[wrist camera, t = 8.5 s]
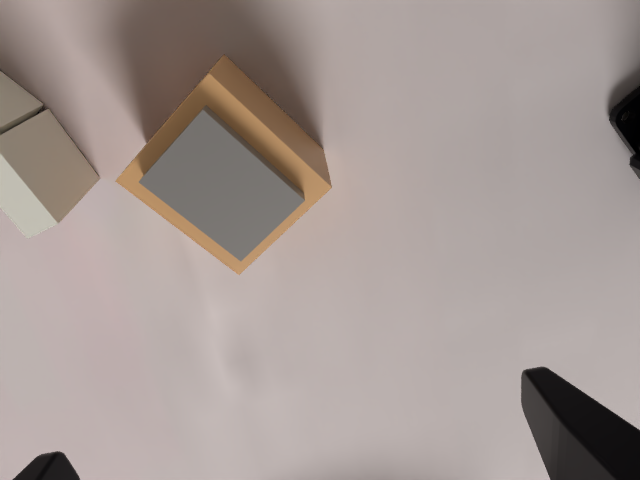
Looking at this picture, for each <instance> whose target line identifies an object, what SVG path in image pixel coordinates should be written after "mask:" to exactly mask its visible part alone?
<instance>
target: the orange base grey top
mask: <svg viewBox="0 0 640 480" xmlns="http://www.w3.org/2000/svg"><path fill="white" fill-rule="evenodd" d="M116 182H117V183H119V184H120V185H121V186H122V187H124V188H125V189H126V190H128V191H129V192H130V193H132V194H133V195H134V196H136V197H137V198H138V199H140V200H141V201H142V202H144V203H145V204H146V205H147V206H149V207H150V208H151V209H153V210H154V211H155V212H157V213H158V214H159V215H161V216H162V217H163V218H165V219H166V220H167V221H168V222H170V223H171V224H172V225H174V226H175V227H176V228H178V229H179V230H180V231H182V232H183V233H184V234H186V235H187V236H188V237H190V238H191V239H192V240H193V241H195V242H196V243H197V244H199V245H200V246H201V247H203V248H204V249H205V250H207V251H208V252H209V253H211V254H212V255H213V256H215V257H216V258H217V259H218V260H220V261H221V262H222V263H224V264H225V265H226V266H228V267H229V268H230V269H232V270H233V271H234V272H236V273H237V274H238V275H240V274H241V273H242V272H243V271H244V270H245V269H246V268H247V267H248V266H249V265H250V264H251V263H252V262H253V261H254V260H255V259H257V258H258V257H259V256H260V255H261V254H262V253H263V252H264V251H265V250H266V249H267V248H268V247H269V246H270V245H271V244H272V243H273V242H275V241H276V240H277V239H278V238H279V237H280V236H281V235H282V234H283V233H284V232H285V231H286V230H287V229H288V228H289V227H290V226H292V225H293V224H294V223H295V222H296V221H297V220H298V219H299V218H300V217H301V216H302V215H303V214H304V213H305V212H306V211H307V210H308V209H310V208H311V207H312V206H313V205H314V204H315V203H316V202H317V201H318V200H319V199H320V198H321V197H322V196H323V195H324V194H325V193H327V192H328V191H329V190H330V189H331V188H332V186H331V181H330V176H329V172H328V167H327V163H326V158H325V154H324V150H323V149H322V148H321V147H320V146H319V145H318V144H317V143H316V142H315V141H314V140H313V139H312V138H311V137H310V136H309V135H308V134H307V133H306V132H304V131H303V130H302V129H301V128H300V127H299V126H298V125H297V124H296V123H295V122H294V121H293V120H292V119H291V118H290V117H289V116H288V115H287V114H286V113H285V112H284V111H283V110H282V109H281V108H280V107H278V106H277V105H276V104H275V103H274V102H273V101H272V100H271V99H270V98H269V97H268V96H267V95H266V94H265V93H264V92H263V91H262V90H261V89H260V88H259V87H258V86H257V85H256V84H255V83H254V82H253V81H251V80H250V79H249V78H248V77H247V76H246V75H245V74H244V73H243V72H242V71H241V70H240V69H239V68H238V67H237V66H236V65H235V64H234V63H233V62H232V61H231V60H230V59H229V58H228V57H227V56H225V55H223V56H222V57H221V58H220V59H219V61H218V62H217V63H216V64H215V65H214V66H213V68H212V69H211V70H210V71H209V72H208V73H207V74H206V76H205V77H204V78H203V79H202V80H201V81H200V83H199V84H198V85H197V86H196V87H195V88H194V89H193V91H192V92H191V93H190V94H189V95H188V96H187V98H186V99H185V100H184V101H183V102H182V103H181V104H180V106H179V107H178V108H177V109H176V110H175V111H174V113H173V114H172V115H171V116H170V117H169V118H168V119H167V121H166V122H165V123H164V124H163V125H162V126H161V128H160V129H159V130H158V131H157V132H156V133H155V134H154V136H153V137H152V138H151V139H150V140H149V141H148V143H147V144H146V145H145V146H144V147H143V148H142V150H141V151H140V152H139V153H138V154H137V156H136V157H135V158H134V159H133V160H132V162H131V163H130V164H129V165H128V166H127V168H126V169H125V170H124V171H123V172H122V174H121V175H120V176H119V177H118V178H117V180H116Z"/></svg>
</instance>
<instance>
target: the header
mask: <svg viewBox="0 0 640 480" xmlns="http://www.w3.org/2000/svg"><path fill="white" fill-rule="evenodd" d="M43 105H44V104H43V103H42V102H40V101H39V100H38V99H36V98H35V97H34V96H32V95H31V94H30V93H29V92H27V91H26V90H25V89H23V88H22V87H21V86H20V85H18V84H17V83H16V82H14V81H13V80H12V79H10V78H9V77H8V76H7V75H5V74H4V73H3V72H1V71H0V208H1V209H2V210H3V212H4V213H5V214H6V215H7V216H8V217H9V218H10V220H11V221H12V222H13V223H14V224H15V225H16V226H17V228H18V229H19V230H20V231H21V232H22V233H23V234H24V236H25V237H26V238H27V239H29V238H31V237H33V236H35V235H37V234H39V233H41V232H43V231H45V230H47V229H49V228H51V227H53V226H55V225H57V224H59V223H60V221H61V220H62V219H63V218H64V217H65V216H66V215H67V214H68V213H69V212H70V211H71V210H72V208H73V207H74V206H75V205H76V204H77V203H78V202H79V201H80V200H81V199H82V198H83V197H84V196H85V194H86V193H87V192H88V191H89V190H90V189H91V188H92V187H93V186H94V185H95V184H96V183H97V181H98V180H99V179H100V178H99V176H98V175H97V174H96V172H95V171H94V170H93V168H92V167H91V165H90V164H89V163H88V161H87V160H86V159H85V157H84V156H83V155H82V153H81V152H80V151H79V149H78V148H77V147H76V145H75V144H74V142H73V141H72V140H71V138H70V137H69V136H68V134H67V133H66V132H65V130H64V129H63V128H62V126H61V125H60V124H59V122H58V121H57V119H56V118H55V117H54V115H53V114H52V113H51V111H50V110H49V109H47V110H45V111H43V112H41V113H39V114H37V113H38V112H39V110H40V109H41V107H42V106H43ZM36 114H37V115H36Z"/></svg>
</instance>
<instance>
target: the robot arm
mask: <svg viewBox="0 0 640 480" xmlns="http://www.w3.org/2000/svg"><path fill="white" fill-rule="evenodd" d="M627 111H629V115H628V117H627V118H626V119H625V120H624V121H622V116H623V115H624V113H625V112H627ZM609 121H610V123H611V125H612V126H613V128H614V129H615V131H616V132H617V133H618V135H619V136H620V138H621V139H622V140H623V142H624V143H625V145H626V146H627V147H628V149H629V150H630V151H631V153H632V154H633V156H632V157H630V167H631V168H632V169H633V171H634V172H635V173H636V175H637V176H638V178H639V179H640V86H639V87H638V88H637V89H635V90H634V91H633V92H632V93H631V94H629V95H628V96H627V97H626V98H625V99H623V100H622V101H621V102H620V103H618V104H617V105H616V106H615V107H614V108H613V109H612V111H611V113H610V117H609ZM521 403H522V408H523V412H524V414H525V417H526V419H527V422H528V424H529V427H530V429H531V432H532V434H533V437H534V440H535V442H536V445H537V447H538V450H539V452H540V455H541V457H542V460H543V462H544V465H545V467H546V470H547V472H548V475H549V477H550V480H640V430H639V429H637V428H636V427H634V426H633V425H631V424H630V423H628V422H627V421H625V420H624V419H622V418H621V417H619V416H618V415H616V414H615V413H613V412H612V411H610V410H609V409H608V408H606V407H605V406H603V405H602V404H600V403H599V402H597V401H596V400H594V399H593V398H591V397H590V396H588V395H587V394H585V393H584V392H582V391H581V390H579V389H578V388H576V387H575V386H573V385H572V384H570V383H569V382H567V381H566V380H564V379H563V378H561V377H560V376H558V375H557V374H555V373H554V372H553V371H551V370H550V369H548V368H546V367H537V368H531V369H526V370H524V371H523V372H522V376H521ZM13 480H80V478H79V476H78V474H77V473H76V471H75V469H74V468H73V466H72V465H71V463H70V462H69V460H68V459H67V457H66V456H65V454H64V453H62V452H59V451H57V452H51V453H45V454H41V455H39V456H37V457H36V458H35V459H34V460H33V461H32V462H31V463H30V464H29V465H28V466H27V467H25V468H24V469H23V470H22V471H21V472H20V473H19V474H18V475H17V476H16V477H15V478H14V479H13Z"/></svg>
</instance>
